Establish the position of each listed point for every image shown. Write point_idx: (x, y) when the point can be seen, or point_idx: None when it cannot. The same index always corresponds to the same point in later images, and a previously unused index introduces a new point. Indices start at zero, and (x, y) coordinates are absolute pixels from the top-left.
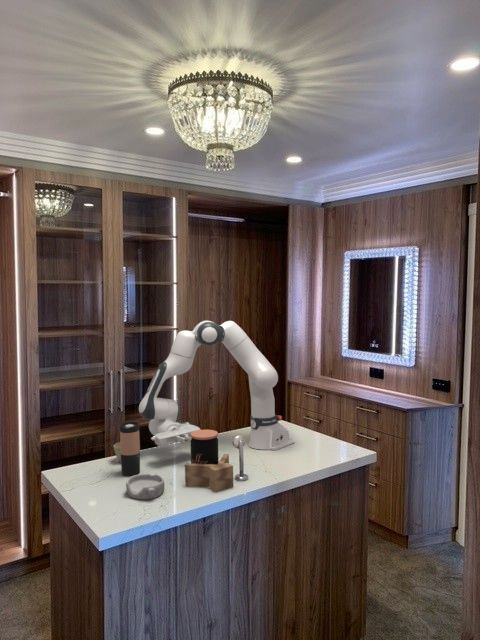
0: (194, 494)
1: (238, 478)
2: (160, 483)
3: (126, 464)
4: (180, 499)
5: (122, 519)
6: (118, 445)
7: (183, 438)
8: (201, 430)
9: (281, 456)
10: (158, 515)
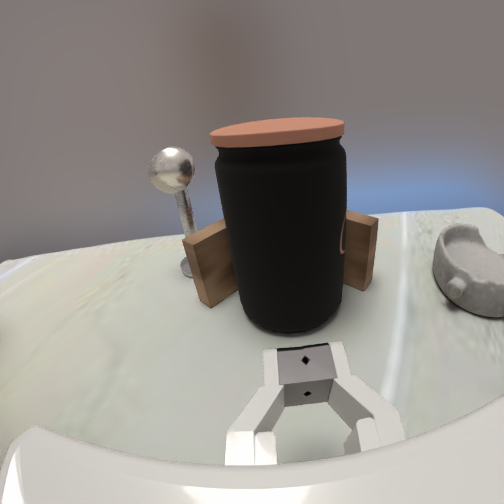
0: None
1: None
2: (443, 229)
3: None
4: (392, 237)
5: (481, 222)
6: None
7: (337, 344)
8: (264, 129)
9: (25, 318)
10: (430, 214)
